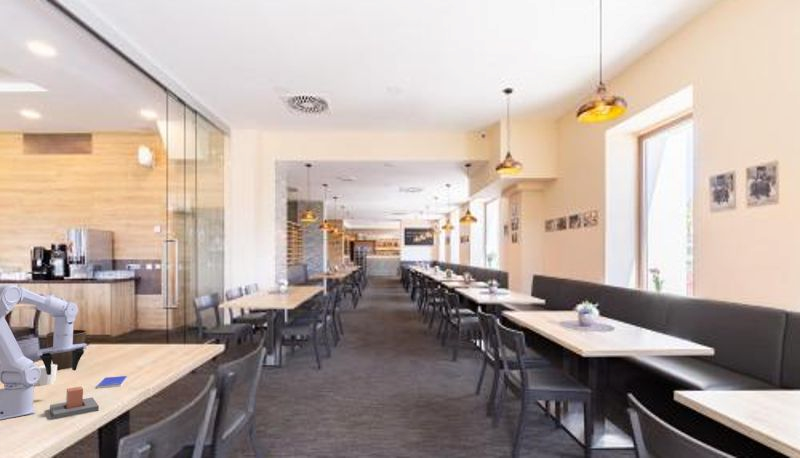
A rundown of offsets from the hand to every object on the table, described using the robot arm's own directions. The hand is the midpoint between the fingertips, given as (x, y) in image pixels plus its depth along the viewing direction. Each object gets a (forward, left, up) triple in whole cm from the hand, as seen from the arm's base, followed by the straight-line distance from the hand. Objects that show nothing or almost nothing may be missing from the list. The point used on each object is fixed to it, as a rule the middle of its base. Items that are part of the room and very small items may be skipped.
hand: (61, 372), depth 163 cm
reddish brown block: (+2, -18, -10) cm, 20 cm away
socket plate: (+2, -18, -9) cm, 20 cm away
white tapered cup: (-2, +27, -10) cm, 29 cm away
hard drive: (+18, +10, -10) cm, 23 cm away
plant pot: (+7, +53, -10) cm, 54 cm away
